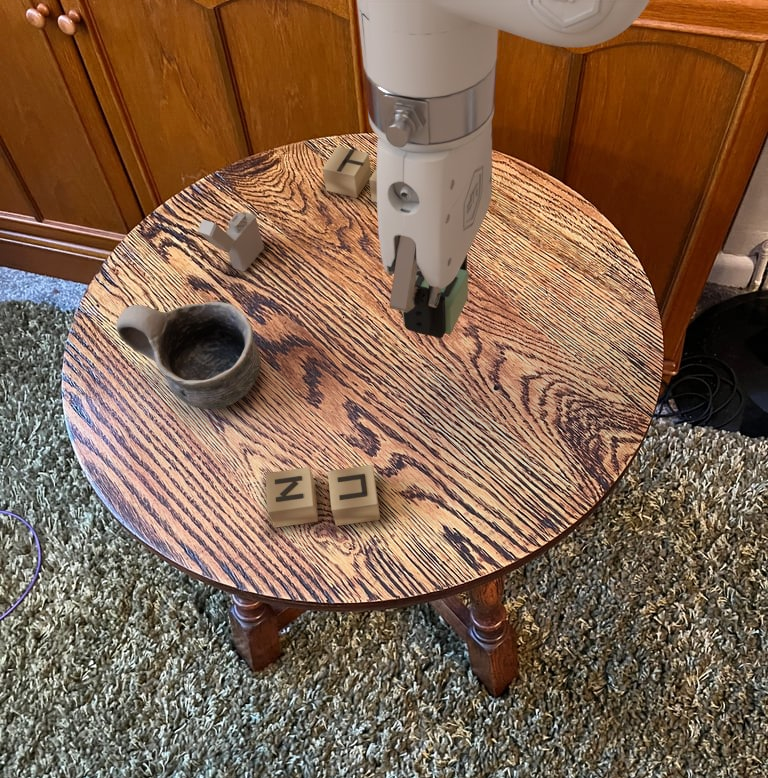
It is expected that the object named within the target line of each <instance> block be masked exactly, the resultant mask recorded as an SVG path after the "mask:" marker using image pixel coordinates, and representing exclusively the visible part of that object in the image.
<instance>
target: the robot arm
mask: <svg viewBox="0 0 768 778" xmlns="http://www.w3.org/2000/svg"><path fill="white" fill-rule="evenodd" d="M650 1H651V0H356V7H357V17H358V25H359V26H358V27H359V34H360V44H361V45H360V46H361V54H362V55H361V56H362V66H363V74H364V85H365V94H366V103H367V112H368V113H367V114H368V115H367V116H368V123H369V126H370V127H371V130H372V131H373V132H374V134H375V136H377V141H376V168H377V203H376V213H377V215H376V216H377V229H378V232H377V233H378V242H379V251H380V257H381V262H382V265H383V269H384V270H385V272H386V274H387V275H388V276H392V275H393V277H392V285H391V291H390V297H389V309H391V310H395V311H400V312H404V322H403V323H404V328H405V330H408V331H410V332H414V333H416V334H420V335H423V336H424V335H425V336H428V337H433V338H437V339H443V338H444V336H445V331H446V327H445V297H443V296H441V295H440V294H441V288H444V287H446V286H448V285H449V284H450V283H451V282H452V281H453V280H454V278H455V277H456V275H457V273H458V271H459V269H462V270H466V271H468V254H469V251H470V249H471V247H472V245H473V243H474V241H475V239H476V237H477V235H478V232H479V231H480V229H481V226H482V224H483V222H484V220H485V217H486V215H487V213H488V210H489V208H490V204H491V200H492V190H493V123H492V121H493V118H494V115H495V102H496V83H497V68H498V67H497V64H498V39H499V31H502V32H505V33H508V34H512V35H514V36H517V37H520V38H523V39H527V40H530V41H532V42H536V43H539V44H543V45H549V46H554V47H560V48H585V47H593V46H596V45H599V44H603V43H605V42H607V41H609V40H612V39H614V38H616V37H617V36H619V35H620V34H622V33H623V32H625V30H627V29H628V28H630V26H632V24H633V23H635V22H636V20H637V19H638V18H639V17H640V16H641V14H642V13H643V12H644V11H645V9H646V8H647V6H648V4H649V3H650ZM417 275H418V276H422V277H424V278H425V280H426V282H427V283H428V284H429V288H426V287H422V286H418V285H415V282H416V276H417Z"/></svg>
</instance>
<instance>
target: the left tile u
mask: <svg viewBox="0 0 768 778" xmlns="http://www.w3.org/2000/svg"><path fill="white" fill-rule="evenodd" d="M373 466H374V465H373V464H369V465H362V466H354V467H347V468H340V469H333V470H328V471H327V478H328V479H327V480H328V489H329V499H330V509H331V513H332V517H333V521H334V523H335V526H336V527H338V526H346V525H353V524H360V523H367V522H368V523H369V522H373V521H374V522H375V521H380V520H381V513H380V506H379V498H378V490H377V482H376V477H375V471H374V467H373Z"/></svg>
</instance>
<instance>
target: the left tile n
mask: <svg viewBox="0 0 768 778" xmlns="http://www.w3.org/2000/svg"><path fill="white" fill-rule="evenodd" d="M316 487H317V486H316V481H315V479H314V475H313V472H312V468H311V467H310V466H307V467H306V466H305V467H301V468H300V467H299V468H295V469H294V468H293V469H287V470H286V469H285V470H280V471H272V472H266V473H265V488H266V490H265V491H266V506H267V507H266V509H267V514H268V516H269V518H270V521H271V523H272V525H273V527H274V528H282V527H289V526H297V525H302V524H311V523H318V522H319V513H318V512H319V511H318V510H319V509H318V501H317V488H316Z"/></svg>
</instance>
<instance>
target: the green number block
mask: <svg viewBox="0 0 768 778" xmlns="http://www.w3.org/2000/svg"><path fill="white" fill-rule="evenodd" d="M415 285H418V286H422V287H426V288H429V284H428V283H427V282H426V280H425V278H424V277H422V276H418V275H417V276H416V282H415ZM440 295H441V296H443V297H445V327H446V331H445V334H446V335H449V336H450V335H452V333H453V331H454V329H455V327H456V325H457V322H458V321H459V318H460V316H461V314H462V312H463V311H464V307H465V305H466V303H467V301H468V298H469V271H468V270H467V271H466V270H462V269H459V271H458V273H457V275H456V277H455V278H454V280H453V281H452V282H451V283H450V284H449V285H448V286H446V287H444V288H441V294H440ZM401 312H402V311H401ZM402 322H403V323H404V312H402ZM445 334H444V335H445Z"/></svg>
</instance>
